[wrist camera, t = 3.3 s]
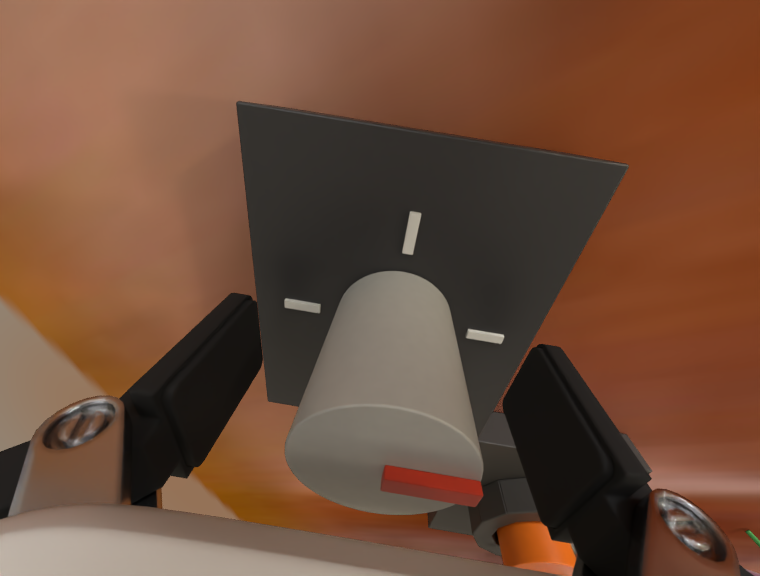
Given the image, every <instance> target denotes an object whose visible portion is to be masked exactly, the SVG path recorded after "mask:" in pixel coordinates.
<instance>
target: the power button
mask: <svg viewBox="0 0 760 576" xmlns="http://www.w3.org/2000/svg"><path fill="white" fill-rule="evenodd" d="M497 536H498V541H499V545H500V550H501V555H502V559H503V564H504V565H506V566H511V567H517V568H523V569H528V570H534V571H540V572H546V573H551V574H557V575H563V576H572V573H573V569H574V566H575V562H576V557H575V554H574V552H573V549H572V547H571V544H570V543H565V542H559V541H553V540H551V537H550V534H549V531H548V528H547V526H545V525H544V524H543V523H542V522H539V521H528V522H515V523H512V524H509V525H506V526H503V527H500V528H498V529H497Z"/></svg>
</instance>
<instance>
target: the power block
mask: <svg viewBox="0 0 760 576" xmlns="http://www.w3.org/2000/svg"><path fill="white" fill-rule="evenodd" d="M620 434H621V433H620ZM621 435H622V437H623V438H624V439H625V441H626V442H627V444H628V445H629V447H630V448H631V450H632V451H633V452H634V454H635V455H636V457H637V458H638V460H639V461H640V463H641V464H642V465H643V467H644V468H645V470H646V471H647V473H648V474H649V473H651V472H652V470H651V469H650V467H649V466H648V464H647V463H646V461H645V460H644V459H643V457H642V456H641V454H640V453H639V451H638V450H637V449H636V447H635V446H634V444H633V443H632V441H631V440H630V439H629V437H628V436H627V435H626V434H621ZM478 441H479V445H480V450H481V455H482V459H483V475H482V479H481V481H480V482H481V486H482V491H483V497H482V499H481V500H480V501H479V503H478V504H477V506H476V507H470V506H465V505H459V504H455V505H453V506H450V507H447V508H445V509H441V510H437V511H434V512H428V527H429V528H433V529H438V530H444V531H450V532H456V533H461V534H467V535H473V536H474V538H475V540H476V542H477V544H478V546H479V547H481V548H483V549H485V550H487V551H489V552H491V553H493V554H495V555H499V556H502V555H501V550H500V545H499V541H498V536H497V529H498V528H500V527H503V526H506V525H509V524H512V523H515V522H528V521H539V522H541V520H540V518H539V515H538V512H537V509H536V506H535V503H534V500H533V497H532V494H531V491H530V488H529V485H528V482H527V479H526V476H525V473H524V470H523V467H522V464H521V461H520V458H519V455H518V452H517V449H516V446H515V443H514V440H513V438H512V435H511V432H510V429H509V426H508V423H507V420H506V417H505V414H504V413H498V412H493V413H492V414H491V416H490V418H489V420H488V422H487V423H486V425H485V427H484V429H483V431H482V432H481V434H480V436H479V437H478ZM570 544H571V547H572V549H573V552H574V554H577V551H576V549H575V546H574V544H573V543H570Z"/></svg>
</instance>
